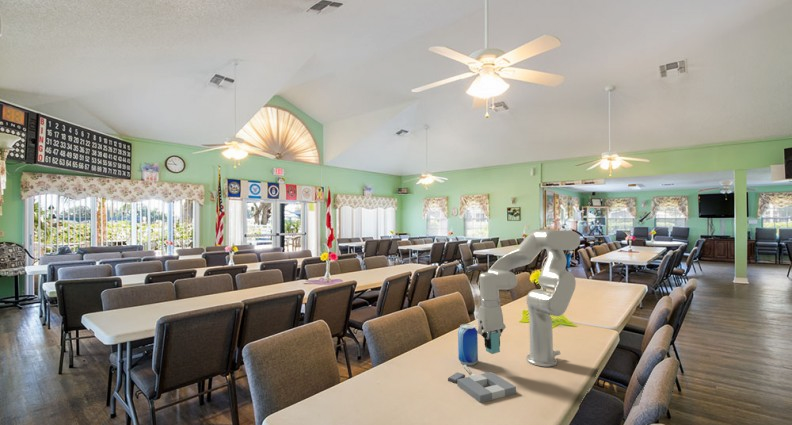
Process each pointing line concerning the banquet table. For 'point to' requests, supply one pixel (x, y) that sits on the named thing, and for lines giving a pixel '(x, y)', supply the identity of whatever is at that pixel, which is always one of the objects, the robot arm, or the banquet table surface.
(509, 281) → the robot arm
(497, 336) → the block
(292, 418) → the banquet table surface
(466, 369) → the cable
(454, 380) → the phone
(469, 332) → the beer can
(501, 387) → the socket plate
